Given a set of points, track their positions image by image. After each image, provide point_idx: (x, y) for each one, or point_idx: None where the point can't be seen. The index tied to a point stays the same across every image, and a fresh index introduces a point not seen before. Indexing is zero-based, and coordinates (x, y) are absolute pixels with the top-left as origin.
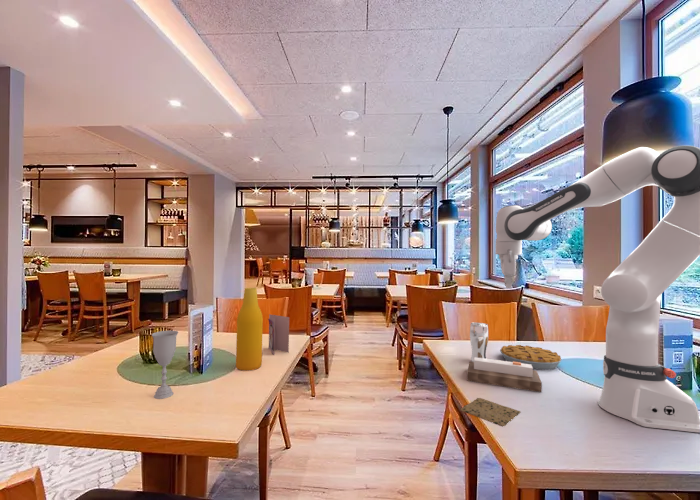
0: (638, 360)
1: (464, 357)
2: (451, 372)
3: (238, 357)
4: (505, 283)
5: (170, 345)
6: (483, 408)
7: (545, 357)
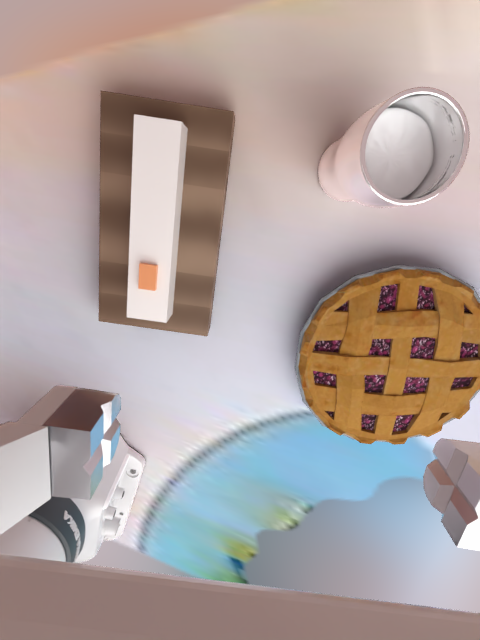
0: None
1: None
2: (179, 39)
3: None
4: (464, 466)
5: None
6: None
7: (336, 397)
